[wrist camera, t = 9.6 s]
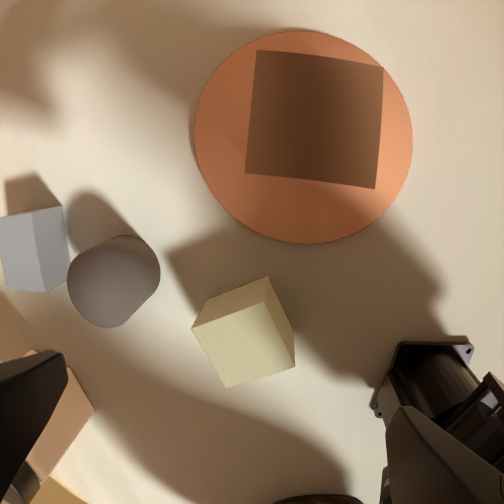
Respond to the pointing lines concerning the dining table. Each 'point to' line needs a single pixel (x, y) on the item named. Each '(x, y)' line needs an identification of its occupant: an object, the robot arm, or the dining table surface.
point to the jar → (51, 441)
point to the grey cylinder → (113, 280)
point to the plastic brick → (34, 249)
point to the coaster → (283, 188)
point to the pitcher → (320, 500)
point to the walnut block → (315, 118)
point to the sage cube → (246, 333)
